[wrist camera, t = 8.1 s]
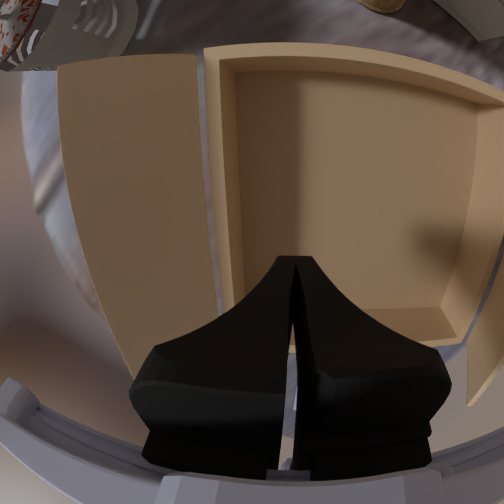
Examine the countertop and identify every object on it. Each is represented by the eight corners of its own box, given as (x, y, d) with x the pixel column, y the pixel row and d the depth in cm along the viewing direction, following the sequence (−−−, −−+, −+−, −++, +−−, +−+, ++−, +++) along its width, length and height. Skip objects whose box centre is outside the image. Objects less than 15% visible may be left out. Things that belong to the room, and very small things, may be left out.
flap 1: (140, 390, 16) (137, 385, 16) (222, 347, 20) (219, 343, 20) (57, 65, 7) (56, 68, 8) (196, 54, 11) (191, 56, 12)
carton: (441, 309, 22) (460, 343, 18) (238, 308, 25) (228, 348, 20) (479, 96, 13) (518, 99, 9) (224, 64, 16) (203, 48, 11)
